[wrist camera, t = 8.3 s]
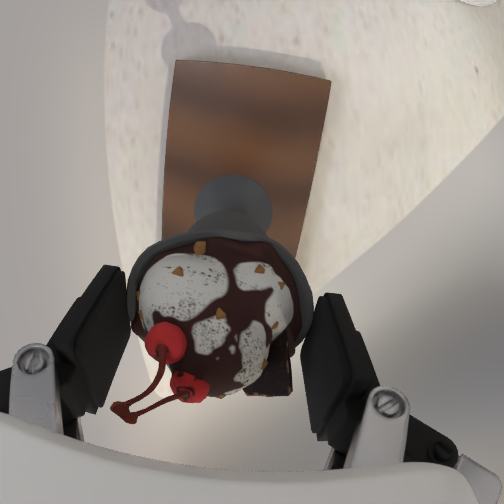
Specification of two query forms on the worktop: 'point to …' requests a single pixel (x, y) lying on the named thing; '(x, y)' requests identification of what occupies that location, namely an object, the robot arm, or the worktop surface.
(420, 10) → the worktop surface
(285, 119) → the serving board
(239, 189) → the sundae
